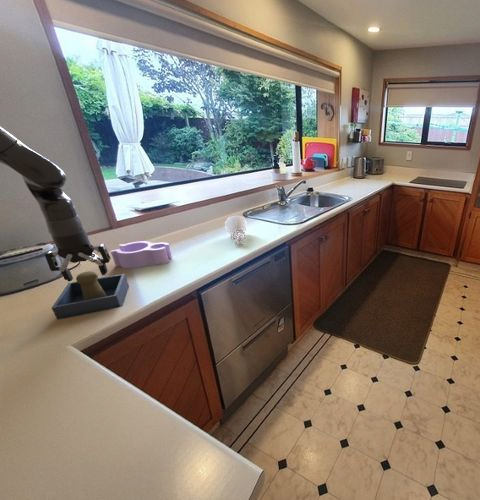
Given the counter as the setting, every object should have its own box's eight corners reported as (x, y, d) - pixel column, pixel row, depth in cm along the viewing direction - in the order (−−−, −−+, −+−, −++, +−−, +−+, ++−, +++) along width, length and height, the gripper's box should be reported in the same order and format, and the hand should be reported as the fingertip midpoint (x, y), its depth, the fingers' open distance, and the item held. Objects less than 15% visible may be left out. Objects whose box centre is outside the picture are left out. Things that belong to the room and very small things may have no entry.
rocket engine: (239, 229, 135) (235, 211, 148) (222, 244, 136) (219, 225, 149) (257, 242, 144) (251, 223, 156) (240, 256, 145) (236, 237, 157)
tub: (58, 322, 86) (51, 308, 84) (74, 296, 98) (68, 282, 96) (121, 309, 93) (116, 295, 90) (129, 286, 105) (124, 273, 103)
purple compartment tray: (175, 253, 131) (172, 240, 128) (165, 266, 120) (161, 251, 117) (127, 255, 127) (122, 241, 124) (111, 269, 116) (106, 254, 113)
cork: (85, 309, 91) (72, 280, 87) (84, 300, 95) (72, 272, 91) (108, 302, 95) (97, 274, 90) (107, 294, 99) (97, 267, 94)
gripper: (100, 223, 90) (117, 267, 97) (40, 230, 84) (62, 276, 91) (94, 231, 84) (112, 277, 91) (29, 239, 78) (54, 288, 85)
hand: (87, 277), depth 91 cm, fingers open, 8 cm apart
